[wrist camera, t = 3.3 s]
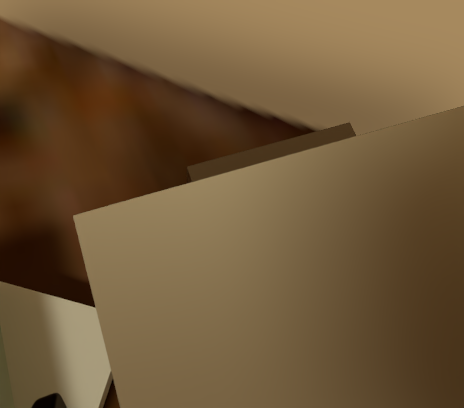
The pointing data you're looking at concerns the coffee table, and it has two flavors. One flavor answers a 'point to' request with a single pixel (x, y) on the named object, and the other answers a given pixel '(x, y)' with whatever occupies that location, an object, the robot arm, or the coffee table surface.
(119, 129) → the coffee table surface
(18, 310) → the board
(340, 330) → the birch cabinet block
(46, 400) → the robot arm
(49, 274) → the coffee table surface
